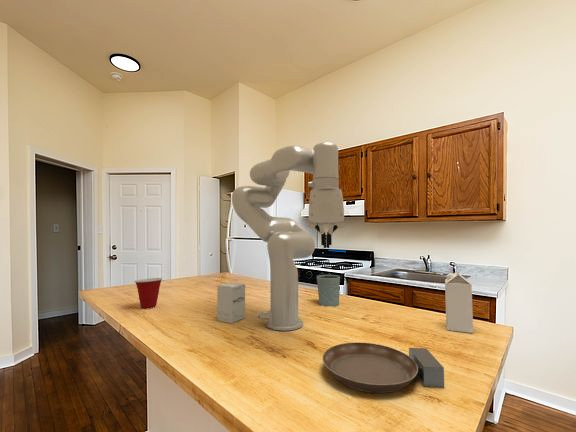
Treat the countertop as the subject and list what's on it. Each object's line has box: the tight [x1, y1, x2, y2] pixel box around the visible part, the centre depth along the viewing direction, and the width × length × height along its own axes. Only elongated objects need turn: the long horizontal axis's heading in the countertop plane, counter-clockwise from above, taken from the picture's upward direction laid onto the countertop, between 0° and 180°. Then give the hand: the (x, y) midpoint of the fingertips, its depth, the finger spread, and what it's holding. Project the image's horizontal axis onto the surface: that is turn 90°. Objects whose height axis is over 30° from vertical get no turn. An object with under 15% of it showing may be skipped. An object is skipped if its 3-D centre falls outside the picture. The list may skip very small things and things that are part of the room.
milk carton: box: [444, 268, 474, 334], centre depth 98 cm, size 7×7×19 cm
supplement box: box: [216, 282, 246, 324], centre depth 109 cm, size 7×7×13 cm
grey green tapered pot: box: [316, 274, 341, 307], centre depth 130 cm, size 10×10×12 cm
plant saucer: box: [322, 341, 418, 394], centre depth 68 cm, size 21×21×3 cm
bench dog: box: [408, 347, 445, 388], centre depth 66 cm, size 4×10×4 cm, turn 174°
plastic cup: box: [134, 277, 163, 310], centre depth 127 cm, size 11×11×12 cm
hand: (326, 247), depth 88 cm, fingers closed
